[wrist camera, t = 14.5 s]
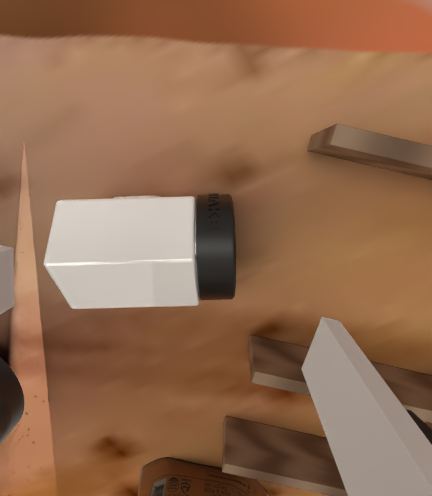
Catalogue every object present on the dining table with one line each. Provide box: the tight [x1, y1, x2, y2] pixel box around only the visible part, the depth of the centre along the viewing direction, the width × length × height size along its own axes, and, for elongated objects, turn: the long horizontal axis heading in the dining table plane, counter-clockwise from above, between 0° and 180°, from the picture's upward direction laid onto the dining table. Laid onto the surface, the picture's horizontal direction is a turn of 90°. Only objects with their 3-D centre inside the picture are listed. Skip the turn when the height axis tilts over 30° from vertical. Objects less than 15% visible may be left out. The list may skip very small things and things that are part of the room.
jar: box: [44, 194, 236, 309], centre depth 20 cm, size 9×8×12 cm
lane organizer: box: [222, 124, 432, 496], centre depth 23 cm, size 22×32×5 cm
